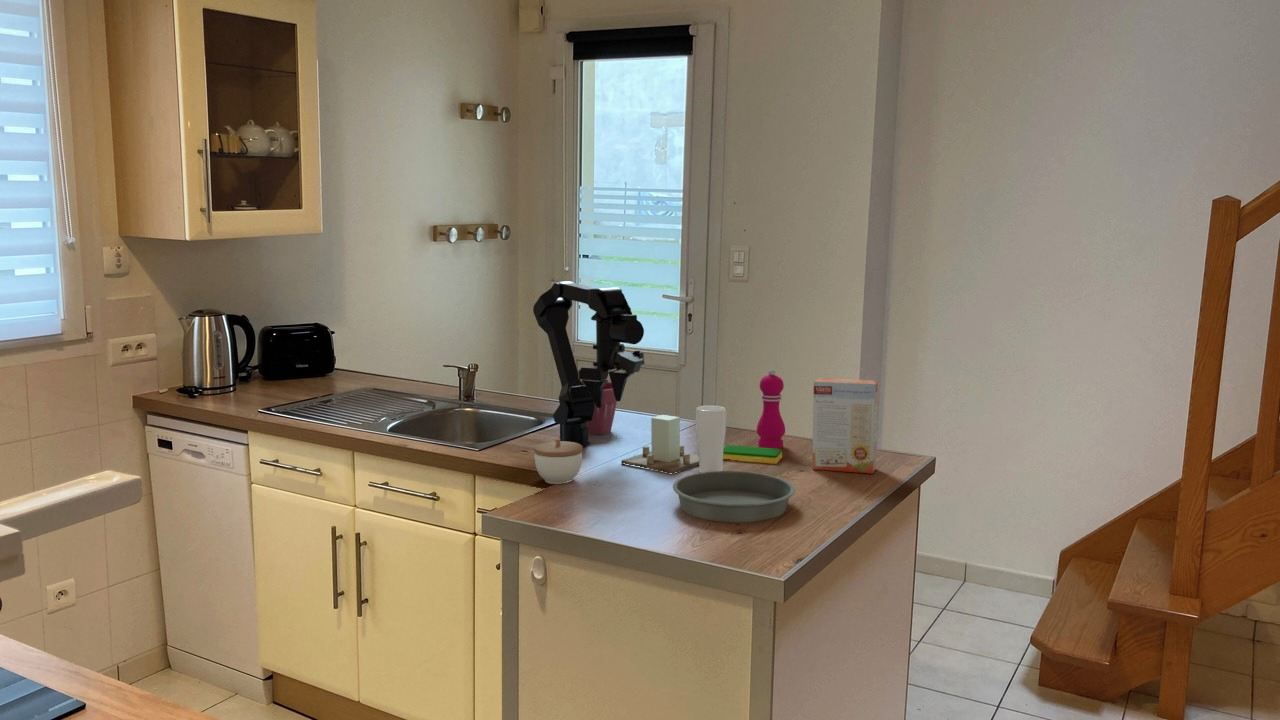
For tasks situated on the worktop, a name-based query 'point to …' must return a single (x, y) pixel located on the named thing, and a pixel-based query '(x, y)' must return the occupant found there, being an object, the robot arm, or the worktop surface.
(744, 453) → the dish sponge
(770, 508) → the cake pan
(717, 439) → the drinking glass
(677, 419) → the sage block
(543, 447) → the lidded jar
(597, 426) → the plant pot
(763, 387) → the pepper mill
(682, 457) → the peg stand
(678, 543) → the worktop surface
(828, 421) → the cracker box
